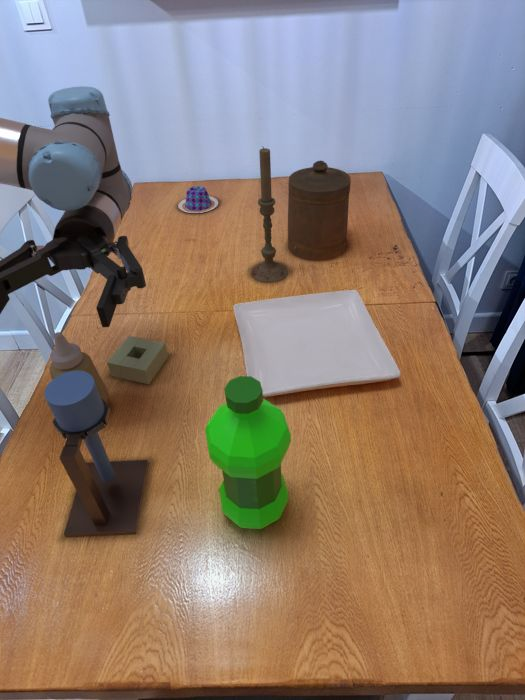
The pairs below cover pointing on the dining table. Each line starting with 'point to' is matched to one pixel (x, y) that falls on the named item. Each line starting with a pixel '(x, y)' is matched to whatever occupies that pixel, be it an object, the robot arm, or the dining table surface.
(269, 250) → the candlestick holder
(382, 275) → the dining table surface
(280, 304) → the square plate
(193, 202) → the pudding
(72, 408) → the peg
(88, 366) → the squeeze bottle
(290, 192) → the wooden container
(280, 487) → the plastic bottle
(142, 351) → the socket block
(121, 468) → the peg stand
